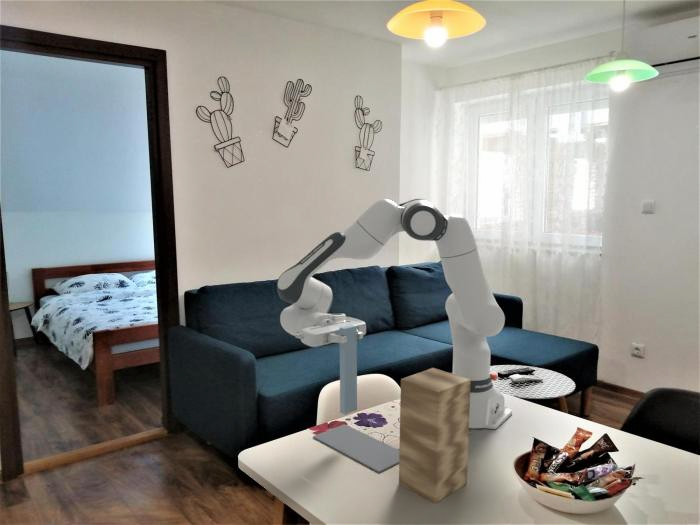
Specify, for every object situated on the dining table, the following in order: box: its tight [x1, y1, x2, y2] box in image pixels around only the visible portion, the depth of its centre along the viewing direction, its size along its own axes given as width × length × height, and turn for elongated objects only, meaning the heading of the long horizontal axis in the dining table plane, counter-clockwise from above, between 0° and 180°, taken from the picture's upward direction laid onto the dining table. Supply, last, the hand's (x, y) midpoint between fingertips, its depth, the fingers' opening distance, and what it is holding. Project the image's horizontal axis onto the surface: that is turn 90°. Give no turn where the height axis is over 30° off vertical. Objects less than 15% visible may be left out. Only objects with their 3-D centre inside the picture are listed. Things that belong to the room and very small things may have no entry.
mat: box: [312, 423, 399, 474], centre depth 147 cm, size 12×26×1 cm, turn 43°
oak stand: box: [398, 367, 471, 504], centre depth 127 cm, size 12×11×26 cm
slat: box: [339, 325, 358, 415], centre depth 148 cm, size 4×24×2 cm
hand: (353, 338), depth 146 cm, fingers closed on slat, 4 cm apart
